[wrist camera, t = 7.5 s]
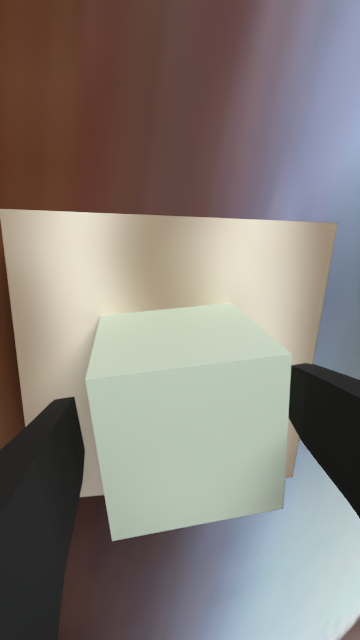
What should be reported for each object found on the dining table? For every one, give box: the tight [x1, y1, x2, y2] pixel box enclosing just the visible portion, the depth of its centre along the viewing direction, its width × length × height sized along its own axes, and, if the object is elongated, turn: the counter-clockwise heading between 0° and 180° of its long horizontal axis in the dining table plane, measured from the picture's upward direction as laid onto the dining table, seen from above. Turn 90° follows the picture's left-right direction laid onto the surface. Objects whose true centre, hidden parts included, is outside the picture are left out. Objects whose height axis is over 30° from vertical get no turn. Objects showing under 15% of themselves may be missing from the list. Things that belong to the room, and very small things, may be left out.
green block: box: [85, 303, 292, 541], centre depth 11 cm, size 5×5×5 cm
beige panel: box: [0, 209, 337, 497], centre depth 15 cm, size 12×12×4 cm
